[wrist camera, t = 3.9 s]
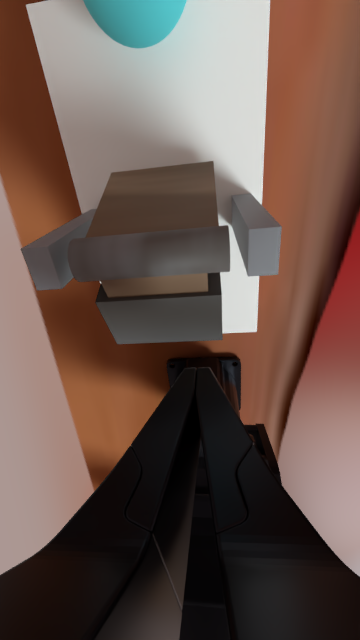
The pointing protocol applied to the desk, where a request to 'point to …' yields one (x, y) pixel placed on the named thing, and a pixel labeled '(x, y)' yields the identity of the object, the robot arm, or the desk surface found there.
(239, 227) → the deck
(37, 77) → the desk surface
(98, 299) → the lever
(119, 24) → the ball
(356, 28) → the desk surface
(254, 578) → the robot arm
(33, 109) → the desk surface
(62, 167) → the desk surface
